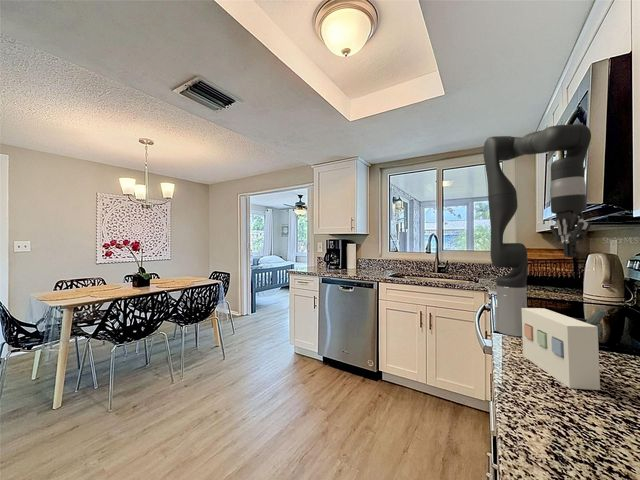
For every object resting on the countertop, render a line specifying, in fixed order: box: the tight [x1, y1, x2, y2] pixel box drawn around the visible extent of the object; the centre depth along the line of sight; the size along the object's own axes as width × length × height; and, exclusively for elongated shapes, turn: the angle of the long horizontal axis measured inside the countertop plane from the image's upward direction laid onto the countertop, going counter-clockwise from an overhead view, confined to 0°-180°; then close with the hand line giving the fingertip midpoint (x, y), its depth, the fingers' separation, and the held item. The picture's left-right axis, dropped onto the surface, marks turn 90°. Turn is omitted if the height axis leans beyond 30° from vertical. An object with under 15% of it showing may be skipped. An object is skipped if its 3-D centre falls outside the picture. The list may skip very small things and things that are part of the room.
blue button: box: [551, 338, 564, 356], centre depth 67 cm, size 2×3×3 cm, turn 170°
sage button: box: [537, 331, 547, 347], centre depth 73 cm, size 2×3×3 cm, turn 171°
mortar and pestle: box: [573, 307, 609, 338], centre depth 92 cm, size 11×9×12 cm
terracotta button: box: [524, 325, 533, 340], centre depth 79 cm, size 2×3×3 cm, turn 171°
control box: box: [521, 307, 601, 391], centre depth 72 cm, size 6×19×14 cm, turn 171°
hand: (570, 257), depth 78 cm, fingers closed
